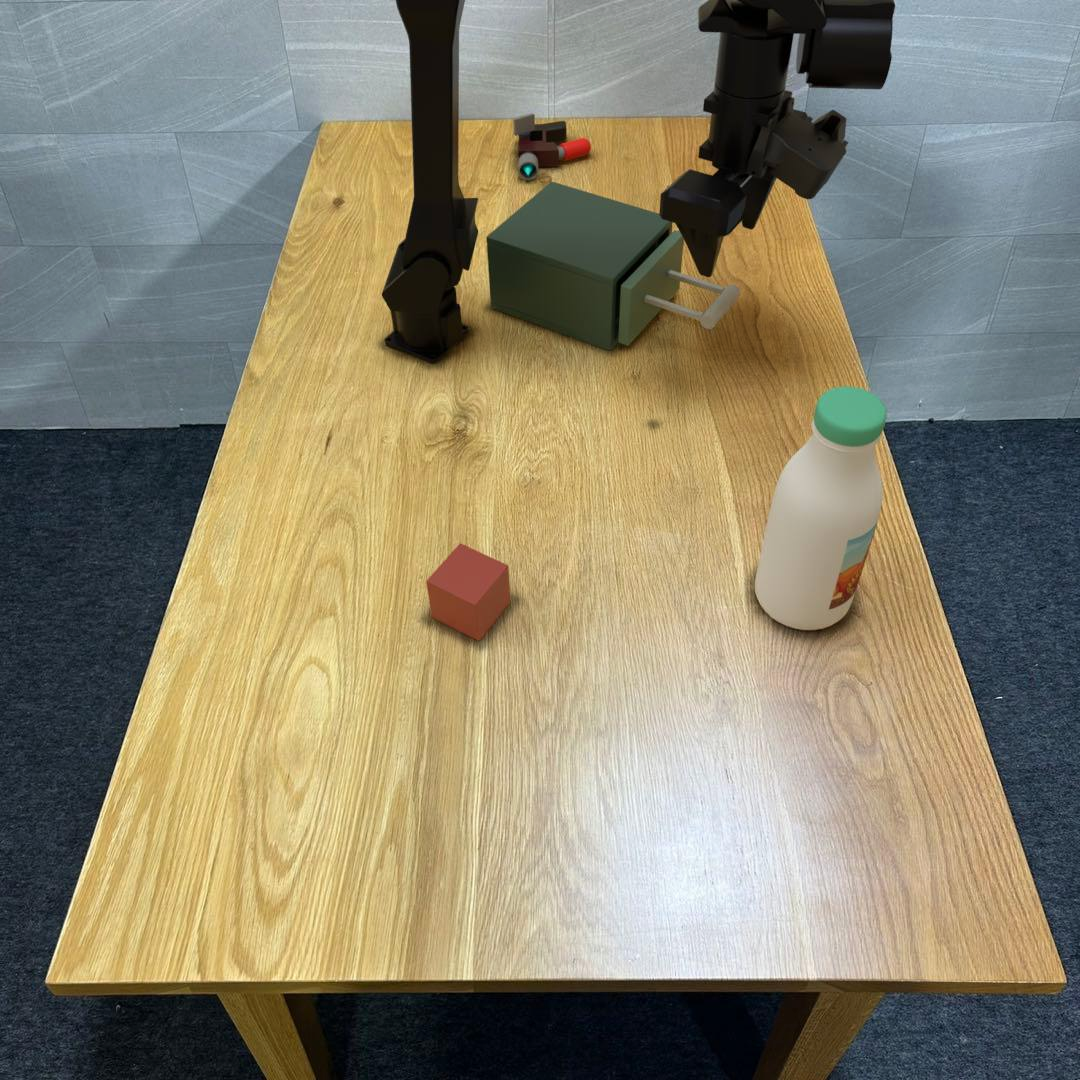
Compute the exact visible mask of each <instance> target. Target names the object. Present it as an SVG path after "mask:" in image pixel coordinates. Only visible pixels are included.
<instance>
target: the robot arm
mask: <svg viewBox="0 0 1080 1080" xmlns="http://www.w3.org/2000/svg"><path fill="white" fill-rule="evenodd" d="M465 2H466V0H395V5H396V8H397V11H398V14H399V16H400V19H401V22H402V24H403V27H404V29H405V31H406V34H407V37H408V44H409V76H410V77H409V78H410V79H409V80H410V106H411V107H410V110H411V111H410V112H411V113H410V114H411V115H410V116H411V144H412V148H411V149H412V175H413V176H412V177H413V178H412V180H413V198H412V203H411V208H410V213H409V217H408V222H407V228H406V232H405V237H404V239H403V240H401V241H400V242H399V244H398V245H397V248H396V251H395V253H394V257H393V259H392V263H391V265H390V269H389V272H388V274H387V277H386V280H385V283H384V286H383V289H382V292H381V298H382V299H383V300H384V302H385V304H386V306H387V308H388V309H389V311H390V317H391V323H392V329H393V331H391V333H389V334H388V335H387V336H386V337H385V338H384V344H385V346H387V347H389V348H393V349H395V350H398V351H400V352H403V353H404V354H407V355H410V356H412V357H415V358H417V359H420V360H423V361H426V362H428V363H430V364H435V363H437V362H439V361H440V360H441V359H442V358H443V357H444V356H445V355H446V354H447V353H448V352H449V351H450V350H451V349H453V348H454V347H455V346H456V345H457V344H458V343H459V342H460V341H461V340H462V339H464V338H465V336H467V335H468V333H470V327H469V325H466V324H464V323H463V322H462V321H463V320H462V319H463V318H462V309H461V303H458V297H457V288H456V287H457V286H458V285H459V283H460V281H461V278H462V275H463V271H464V270H465V271H469V270H470V269H471V268H470V267H471V264H472V261H473V260H472V259H473V256H474V252H475V248H476V243H477V239H478V235H479V229H478V227H477V223H476V211H477V207H478V202H479V198H478V197H465V196H464V194H463V192H462V189H461V187H460V182H459V181H460V180H459V141H460V139H459V138H460V137H459V133H460V132H459V129H460V126H459V125H460V123H459V122H460V121H459V119H460V117H459V116H460V108H459V107H460V95H459V94H460V26H461V22H462V18H463V17H462V16H463V12H464V7H465ZM697 9H698V10H697V17H698V19H697V20H698V21H697V22H698V23H697V24H698V30H699V32H701V33H719V41H718V49H717V59H716V68H715V69H716V70H715V76H714V77H715V78H714V86H713V91H711V93H709V94H708V95H707V96H706V97H705V98H703V105H702V112H705V113H708V114H711V115H710V123H709V132H708V138H706V140H705V141H704V142H703V143H702V144H701V145H700V146H699V147H698V157H697V158H698V159H700V160H705V161H707V162H711V166H712V167H713V168H715V169H717V170H716V171H715V172H714V173H713V174H708V173H705V172H702V171H698V170H694V169H687V170H686V171H685V172H683V173H682V174H681V175H679V176H678V177H677V178H676V179H675V180H674V181H672V182H671V184H669V186H668V187H666V188H665V189H664V191H662V192H661V193H660V196H659V197H660V198H659V199H660V200H659V202H660V203H659V211H658V213H659V215H660V216H661V218H662V219H664V220H667V221H670V222H673V224H674V225H675V226H676V228H677V229H678V231H680V233H681V235H682V236H683V238H684V244H685V245H686V247H687V249H688V251H689V253H690V257H691V258H692V260H693V263H694V265H695V267H696V270H697V272H698V274H699V275H700V276H702V277H704V278H705V277H706V278H711V277H712V276H713V274H714V271H715V268H716V265H717V261H718V258H719V255H720V251H721V248H722V246H723V245H722V244H723V241H724V238H725V237H727V236H729V235H730V234H731V233H732V232H734V230H735V229H736V228H737V227H738V226H739V225H740V224H741V225H742V227H743V228H744V229H748V230H754V229H755V227H756V226H757V223H758V222H759V218H760V216H761V214H762V212H763V210H764V207H765V205H766V202H767V201H768V199H769V197H770V193H771V192H772V189H773V187H774V185H775V183H776V181H777V180H779V181H780V182H782V183H783V184H785V185H786V186H788V187H789V188H791V189H792V190H793V191H794V193H795V195H797V196H798V197H799V198H801V199H804V200H813V199H815V198H816V196H817V194H818V193H819V192H820V191H821V190H822V188H824V186H825V185H826V184H827V183H828V181H829V180H830V178H831V177H832V175H833V174H834V172H835V171H836V169H837V167H838V166H839V164H840V163H841V161H843V158H844V157H845V156H846V154H847V148H846V147H847V146H848V145H849V141H847V140H846V139H845V138H846V129H847V117H845V116H844V115H842V114H841V113H839V112H838V111H836V110H835V109H831V110H830V111H828V112H826V113H824V114H823V115H821V116H819V117H818V118H816V119H815V120H814V119H813V117H811V116H810V115H808V114H807V112H806V111H802V110H798V109H794V106H795V98H794V97H792V96H793V91H790V90H787V89H786V85H787V79H788V73H789V67H790V60H791V53H792V47H793V41H794V36H795V34H798V41H797V48H796V60H795V70H796V74H797V75H804V74H805V84H807V86H808V88H809V89H838V90H839V89H840V90H841V89H843V90H844V89H845V90H849V89H851V90H877V91H878V90H879V91H880V90H882V89H883V88H884V86H885V83H886V82H887V78H888V75H889V72H890V68H891V64H892V59H893V54H892V52H891V49H892V40H893V22H894V21H893V18H894V15H895V9H896V2H895V0H707V1H706V2H704V3H703V4H701V5H700V6H698V8H697ZM813 120H814V121H813Z"/></svg>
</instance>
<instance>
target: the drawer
mask: <svg viewBox="0 0 1080 1080" xmlns="http://www.w3.org/2000/svg"><path fill="white" fill-rule="evenodd" d="M684 244H685V240H684V238H683V236H682V235H681V233H680V231H679V230H676V229H674V230H672V233H671V234H670V235H669V236H668V237H667V238H666V239H665V240H664V241H663V242H662V244H661V245H660V246H659V247H658V245H659V239H658V240H657V241H656V242H655V243H654V244H653V245H652V246H651V247H650V248H649V249H648V250H647V251H646V252H645V253H644V254H643V255H642V256H641V257H640V258H639V259H638V260H637V261H636V262H635V263H634V264H633V265H632V266H631V267H630V268H629V270H628V271H627V272H626V273H625V274H624V275H623V276H622V277H621V278H620V279H619V280H618V281H617V282H616V283H617V284H616V307H615V326H616V325H617V324H618V323H619V336H618V343H619V344H622V345H624V346H627V347H628V346H630V345H631V343H632V342H633V341H634V340H635V339H636V338H637V337H638V336H639V334H640V333H641V332H642V331H643V330H644V329H645V328H646V327H647V326H648V325H649V323H650V322H651V321H652V320H653V319H654V318H655V317H656V316H657V314H659V312H660V311H662V309H663V310H667V311H670V312H672V313H675V314H679V315H681V316H684V317H688V318H690V319H693V320H696V321H699V322H700V325H701V326H702V327H703V328H704V329H706V330H712V329H714V328H715V327H716V325H717V324H718V323H719V322H720V321H721V319H722V318H723V317H724V316H725V314H726V313H727V312H728V311H729V309H730V308H731V307H732V306H733V305H734V304H735V302H736V301H737V300H738V299H739V298H740V296H741V290H740V289H741V288H740V287H738V285H737V284H734V283H731V284H728V285H726V287H725V286H722V285H719V284H716V283H713V282H710V281H707V280H704V279H699V278H698V277H694V276H692V275H688V274H685V273H682V263H683V253H684ZM681 283H684V284H688V285H690V286H694V287H697V288H700V289H702V290H706V291H709V292H712V293H715V294H717V295H718V296H717V297H716V299H715V300H714V301H713V302H712V303H711V304H710V306H709V307H708V308H707V309H706V310H705V311H704V312H701V311H698V310H695V309H693V308H689V307H686V306H683V305H680V304H677V303H674V302H671V301H670V300H671V299H672V298H673V297H674V296H675V295H676V294H677V292H679V290H680V285H681Z"/></svg>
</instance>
